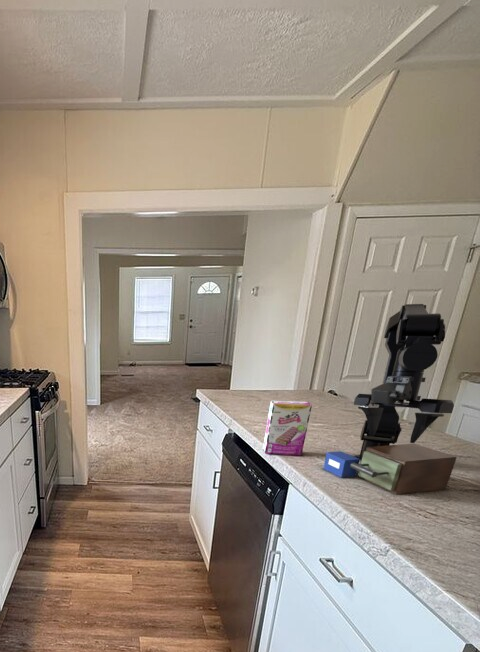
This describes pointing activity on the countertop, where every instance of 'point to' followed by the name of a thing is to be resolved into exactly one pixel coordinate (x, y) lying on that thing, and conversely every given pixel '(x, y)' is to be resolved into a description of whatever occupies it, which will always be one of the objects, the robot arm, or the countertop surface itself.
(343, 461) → the block
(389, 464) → the drawer
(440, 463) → the cabinet
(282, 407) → the candy bar box
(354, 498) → the countertop surface
